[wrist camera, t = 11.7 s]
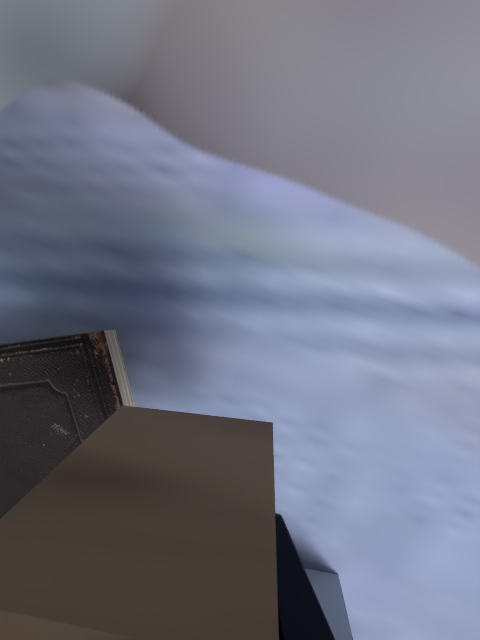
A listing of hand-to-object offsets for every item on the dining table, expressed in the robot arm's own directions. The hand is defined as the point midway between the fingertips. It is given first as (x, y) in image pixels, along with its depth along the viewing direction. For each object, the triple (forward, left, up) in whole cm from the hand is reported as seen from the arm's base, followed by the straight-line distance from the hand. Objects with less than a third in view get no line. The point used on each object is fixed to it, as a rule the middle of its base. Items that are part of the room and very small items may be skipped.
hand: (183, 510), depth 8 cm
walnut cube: (0, 0, -1) cm, 1 cm away
